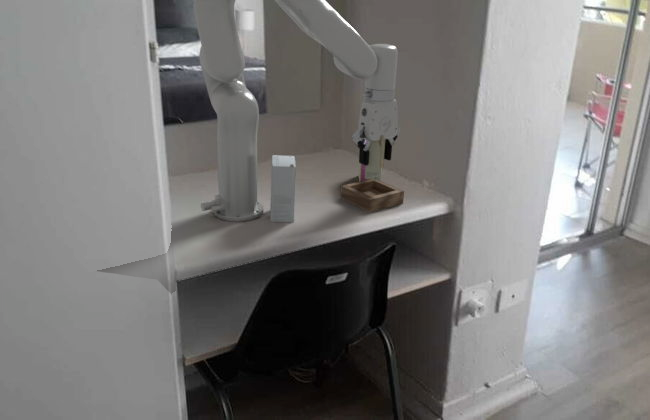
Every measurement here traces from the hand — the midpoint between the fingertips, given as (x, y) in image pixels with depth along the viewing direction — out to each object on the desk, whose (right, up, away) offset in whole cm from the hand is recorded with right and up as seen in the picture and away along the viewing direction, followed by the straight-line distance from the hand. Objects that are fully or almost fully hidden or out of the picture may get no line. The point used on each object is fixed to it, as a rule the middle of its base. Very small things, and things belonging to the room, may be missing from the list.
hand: (375, 161), depth 159 cm
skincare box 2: (0, -4, +2) cm, 5 cm away
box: (0, -5, +18) cm, 19 cm away
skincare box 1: (-24, -15, -8) cm, 29 cm away
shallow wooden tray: (-1, -10, +4) cm, 11 cm away
